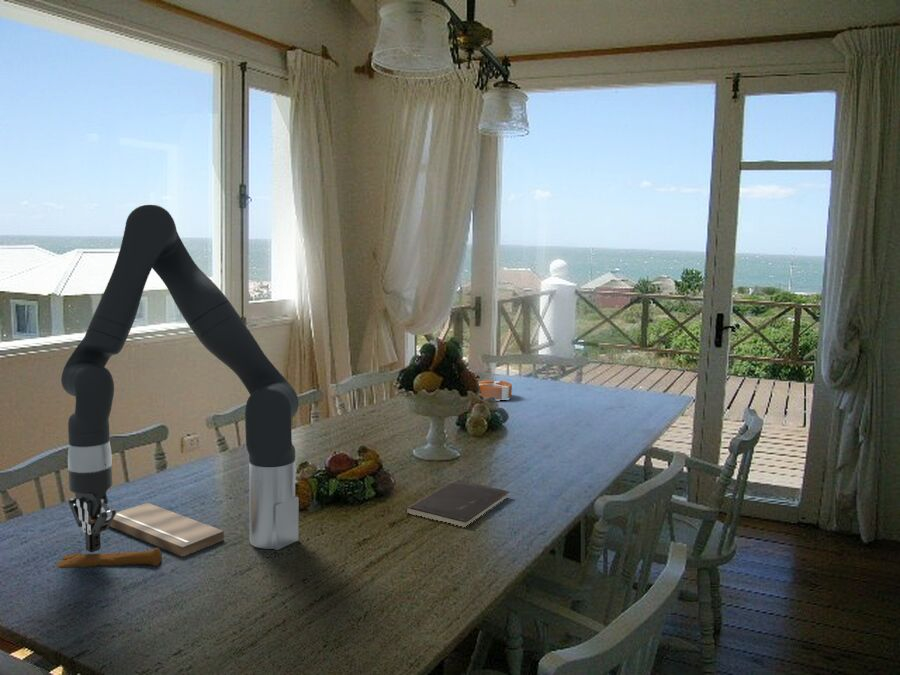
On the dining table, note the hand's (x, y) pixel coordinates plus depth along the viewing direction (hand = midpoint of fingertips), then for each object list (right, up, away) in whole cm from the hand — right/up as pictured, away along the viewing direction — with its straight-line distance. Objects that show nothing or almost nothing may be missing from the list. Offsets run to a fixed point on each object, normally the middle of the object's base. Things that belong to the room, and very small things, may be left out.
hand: (93, 550), depth 141 cm
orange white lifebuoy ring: (+88, +17, +152) cm, 176 cm away
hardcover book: (+72, 0, +33) cm, 79 cm away
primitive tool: (+4, -2, -3) cm, 6 cm away
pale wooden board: (+9, 0, +12) cm, 15 cm away
